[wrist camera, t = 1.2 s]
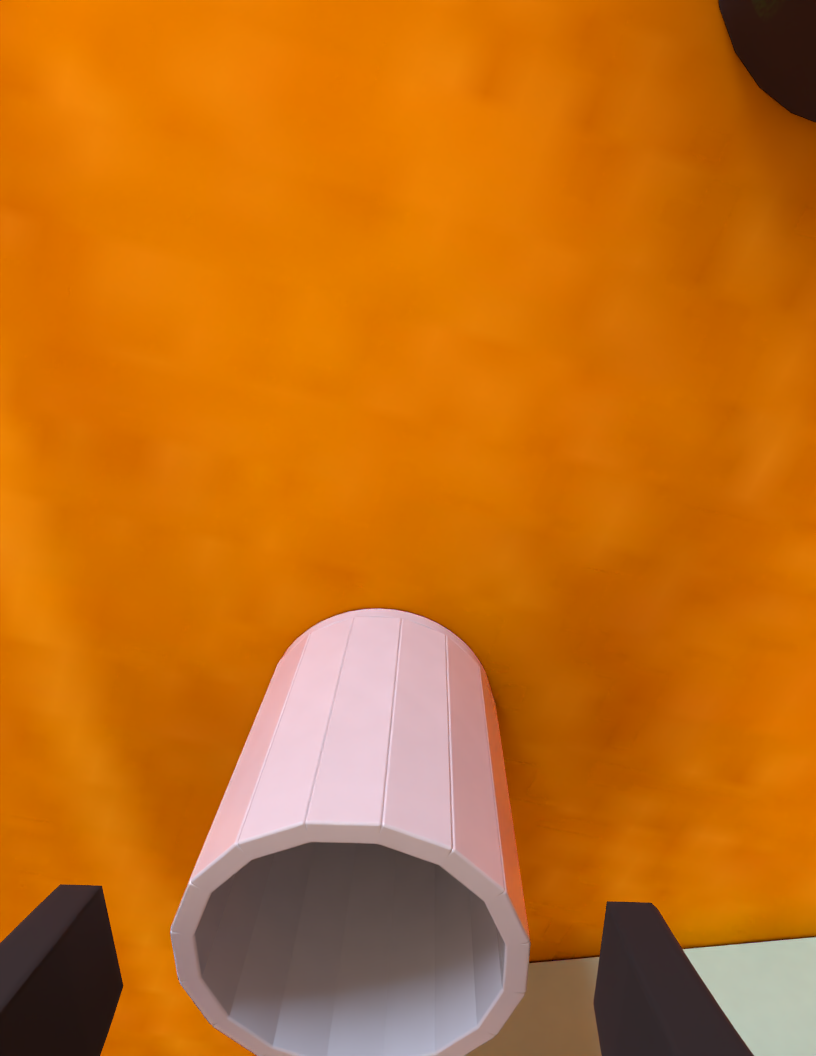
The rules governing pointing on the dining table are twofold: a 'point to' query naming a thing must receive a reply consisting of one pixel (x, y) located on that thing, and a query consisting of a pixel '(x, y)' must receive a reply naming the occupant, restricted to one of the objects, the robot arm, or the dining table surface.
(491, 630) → the dining table surface
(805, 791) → the dining table surface
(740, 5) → the cup
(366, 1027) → the white cylindrical tumbler
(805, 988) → the blue hardcover book
